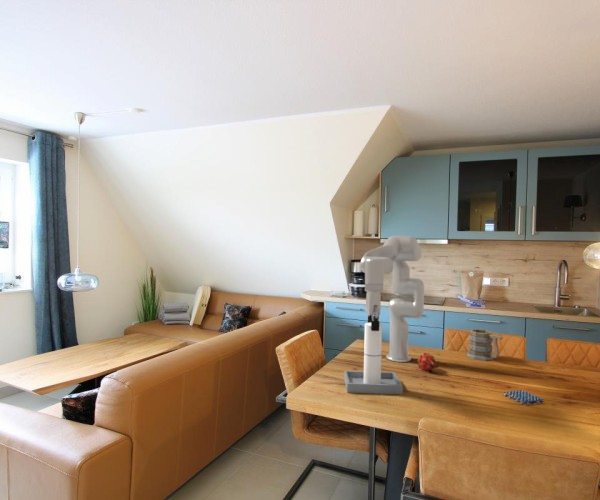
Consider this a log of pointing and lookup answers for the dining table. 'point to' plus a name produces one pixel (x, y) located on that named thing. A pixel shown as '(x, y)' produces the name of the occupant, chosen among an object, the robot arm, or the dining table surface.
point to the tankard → (483, 344)
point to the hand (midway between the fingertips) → (373, 327)
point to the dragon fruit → (427, 362)
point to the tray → (357, 385)
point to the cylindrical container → (372, 355)
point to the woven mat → (523, 397)
